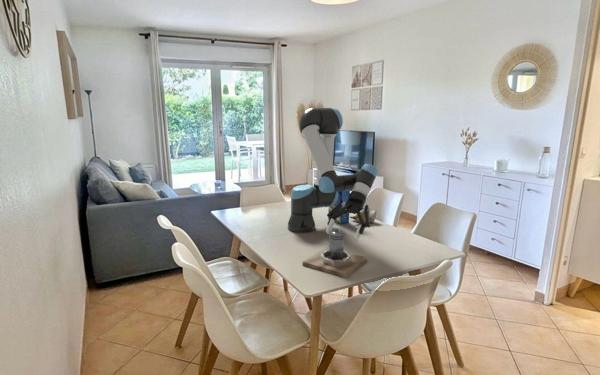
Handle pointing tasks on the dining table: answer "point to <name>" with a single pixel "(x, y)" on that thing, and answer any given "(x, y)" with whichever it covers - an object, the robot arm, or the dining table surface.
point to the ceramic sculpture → (371, 216)
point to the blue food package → (344, 197)
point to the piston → (336, 245)
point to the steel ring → (335, 262)
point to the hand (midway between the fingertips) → (341, 236)
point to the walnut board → (337, 270)
